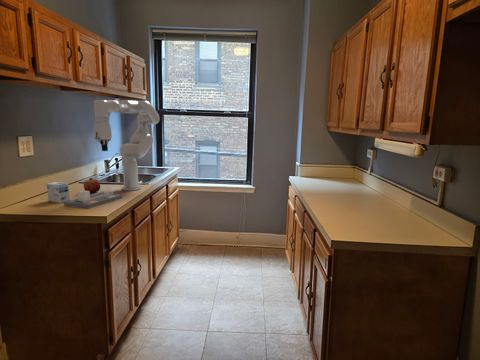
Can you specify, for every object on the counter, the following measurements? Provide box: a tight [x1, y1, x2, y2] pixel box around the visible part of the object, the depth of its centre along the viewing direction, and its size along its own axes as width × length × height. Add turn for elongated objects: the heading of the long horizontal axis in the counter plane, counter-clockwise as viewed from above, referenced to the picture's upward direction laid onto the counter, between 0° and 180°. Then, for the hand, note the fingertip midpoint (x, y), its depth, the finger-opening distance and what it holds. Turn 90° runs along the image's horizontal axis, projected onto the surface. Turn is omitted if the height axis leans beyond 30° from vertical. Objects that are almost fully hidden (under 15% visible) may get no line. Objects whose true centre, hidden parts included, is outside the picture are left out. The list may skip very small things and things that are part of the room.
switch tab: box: [76, 190, 91, 201], centre depth 182 cm, size 4×5×5 cm
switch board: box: [63, 191, 123, 209], centre depth 189 cm, size 26×18×4 cm
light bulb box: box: [46, 181, 71, 204], centre depth 189 cm, size 11×7×11 cm, turn 66°
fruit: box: [83, 177, 101, 194], centre depth 211 cm, size 11×10×10 cm
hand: (104, 150), depth 199 cm, fingers closed
